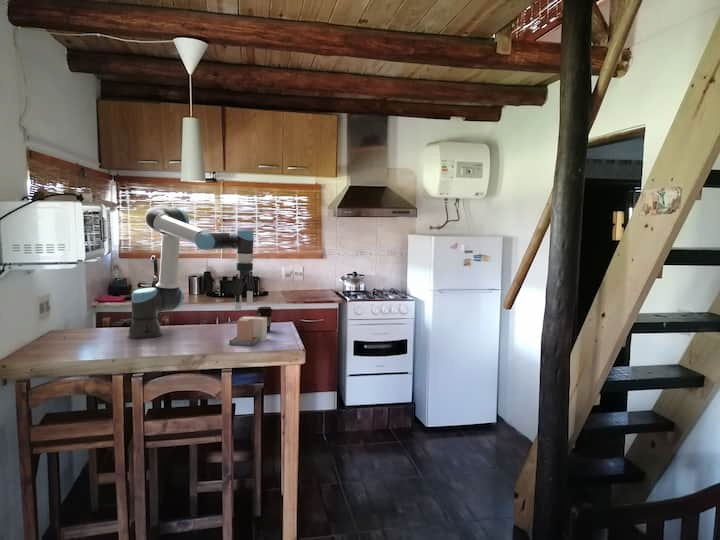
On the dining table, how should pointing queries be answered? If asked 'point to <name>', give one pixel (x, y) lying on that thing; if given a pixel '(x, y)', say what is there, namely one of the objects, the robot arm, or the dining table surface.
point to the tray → (244, 342)
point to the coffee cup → (265, 315)
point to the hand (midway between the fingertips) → (244, 306)
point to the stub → (245, 330)
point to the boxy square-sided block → (258, 326)
